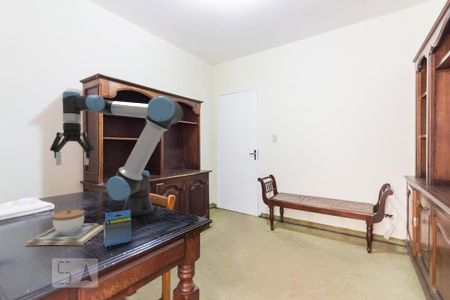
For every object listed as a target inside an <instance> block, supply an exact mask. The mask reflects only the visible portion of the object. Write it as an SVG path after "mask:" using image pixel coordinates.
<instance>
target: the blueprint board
mask: <svg viewBox="0 0 450 300" xmlns="http://www.w3.org/2000/svg"><path fill="white" fill-rule="evenodd" d="M102 231H104V224H99V223H97V222H95V223H83V225H82V227H81V228H80V229H79V230H78V232H76V233H74V234H71V235H60V233H58V232H56V230H55V229H54V227H52V228H51V229H47V230H46V231H45V232H43V233H41V234H38V235H36V236H35V237H33V238H31V239H29V240H27V241H25V247H35V246H34V245H69V246H84V245H85V244H86V243H88V242H89V241H90V240H91V239H92V237H93V238H94V237H95V236H97V235H98V234H99V233H101V232H102ZM88 240H89V241H88ZM84 243H85V244H84Z"/></svg>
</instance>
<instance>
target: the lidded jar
mask: <svg viewBox="0 0 450 300" xmlns="http://www.w3.org/2000/svg"><path fill="white" fill-rule="evenodd" d="M51 218H52V226H53V228H54V229H55V230H56V232H58V233H60V235H71V234H74V233H76V232H78V230H79V229H80V228H81V227H82V225H83V224H84V221H85V210H83V209H70V208H68V209H67V210H64V211H63V210H62V211H59V212H55V213H54V214H53V215H52V217H51Z"/></svg>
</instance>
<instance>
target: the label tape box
mask: <svg viewBox="0 0 450 300" xmlns="http://www.w3.org/2000/svg"><path fill="white" fill-rule="evenodd" d="M118 215H119V216H118ZM131 222H132V216H131V211H130V210H127V211H123V210H120V211H115V212H109V213H108V212H106V213H105V220H104V221H103V225H104V229H103V244H105V245H104V247H105V248H107V246H109V247H112V246H111V245H113V246H117V245H121V244H124V243H129V241H130V242H131V241H132V240H131V239H132V237H131V236H132V233H131V232H132V231H131V230H132V229H131V228H132V223H131ZM120 243H121V244H120ZM116 244H117V245H116Z"/></svg>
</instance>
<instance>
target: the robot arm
mask: <svg viewBox="0 0 450 300" xmlns="http://www.w3.org/2000/svg"><path fill="white" fill-rule="evenodd" d="M61 100H62V122H63V123H62V130H63V132H56V135H55V138H54V140H53V143H52V145H51V146H50V148H49V150H50V151H51V152H53V155H54V159H55V165H56V166H61V165H62V152H61V150H62V149H63V148H64V146H66V144H67V143H69V142H76V143H78V145H80V147H82V149H83V150H84V152H83V162H84V163H83V165H84V166H88V165H90V163H89V162H90V161H89V159H90V158H91V152H94V151H95V148H94V146H93V144H92V142H91V141H90V139H89V136H88V135H89V134H88V132H82V124H81V122H82V121H81V120H82V119H81V117H82V116H81V115H82V114H81V112H94V113H99V114H103V115H108V116H121V117H129V118H130V117H132V118H143V119H145V122H146V124H145V127H144V128H143V130H142V132H141V134H140V136H139V138H138V139H137V141H136V143H135V146H134V147H133V149H132V151H131V153H130V155H129V156H128V158H127V160H126V162H125V164H124V166H121V167H119V168H118V170H117V171H116V174H115V176H112V177H110V178H109V180H108V181H107V182H106V188H105V189H106V192H107V194H108V196H109V197H110V198H111V199H113V200H115V201H124V200H125V203H124V204H125V205H124V207H123V210H122V211H127V210H130V211H131V217H136V216H144V215H149V214H150V213H153V211H154V206H153V204H152V200H151V198H150V197H151V196H150V179H151V177H150V171H148V170H145V167H146V165H147V163H148V162H149V160H150V158H151V156H152V154H153V153H154V151H155V149H156V147H157V145H158V143H159V141H160V139H161V138H162V135H163V133H164V132H167V131H169V129H170V128H171V126H172V125H174V124H177V123H178V122H180V121H181V120H182V118H183V114H184V113H183V108H182V106H181V105H180V104H179V103H178V102H177V101H174V100H173V99H171V98H169V97H167V96H163V95H160V96H155V97H153V98H152V99H150V100H149V102H148V103H138V102H127V101H116V100H115V101H114V100H108V99H104V98H103V97H102V96H101V95H95V94H90V95H81V93H80V92H78V91H74V90H65V91H63V92H62V98H61ZM62 137H63V138H62ZM81 137H82V138H83V140H84V141H83V140H82V138H81Z"/></svg>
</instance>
